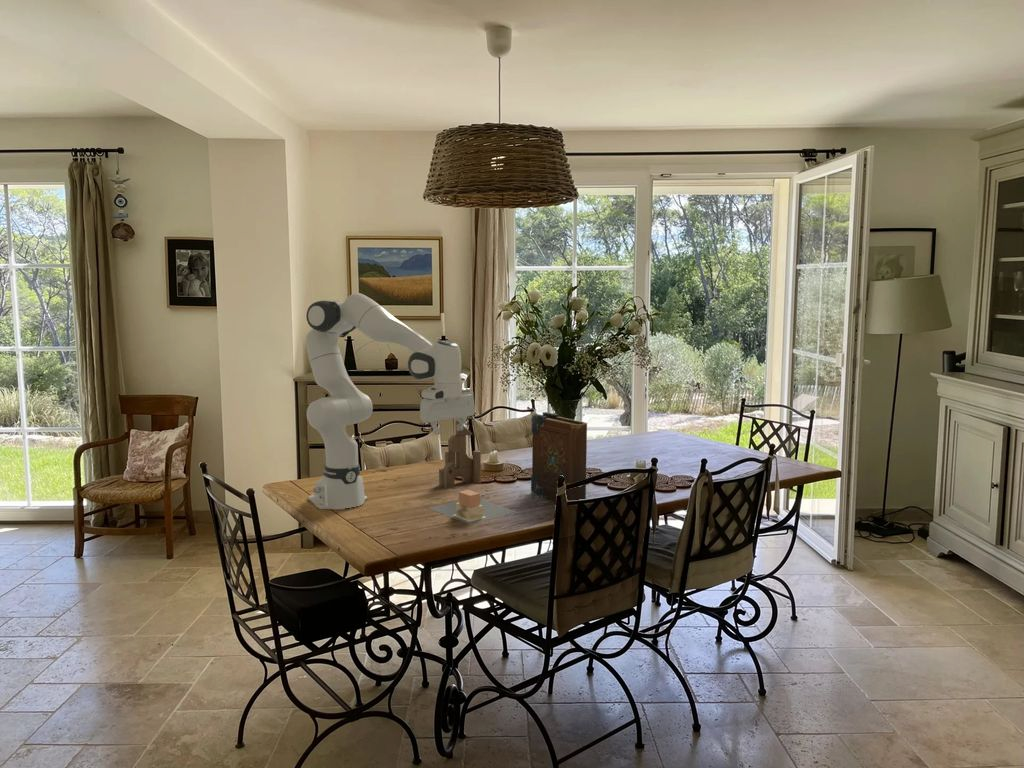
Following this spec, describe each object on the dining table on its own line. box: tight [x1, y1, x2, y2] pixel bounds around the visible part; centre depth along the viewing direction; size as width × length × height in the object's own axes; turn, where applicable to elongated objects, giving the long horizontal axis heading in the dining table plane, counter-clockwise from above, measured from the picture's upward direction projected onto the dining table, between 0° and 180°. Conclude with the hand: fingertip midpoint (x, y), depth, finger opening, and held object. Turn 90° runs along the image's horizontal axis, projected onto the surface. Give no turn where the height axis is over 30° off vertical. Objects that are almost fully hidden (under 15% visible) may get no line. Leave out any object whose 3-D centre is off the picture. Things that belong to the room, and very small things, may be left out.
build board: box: [428, 498, 517, 525], centre depth 254 cm, size 23×20×2 cm
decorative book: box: [530, 411, 588, 501], centre depth 270 cm, size 23×7×30 cm, turn 39°
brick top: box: [458, 489, 481, 508], centre depth 246 cm, size 6×4×4 cm, turn 42°
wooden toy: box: [438, 419, 482, 490], centre depth 289 cm, size 16×7×25 cm, turn 120°
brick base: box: [456, 503, 483, 521], centre depth 246 cm, size 8×5×4 cm, turn 42°
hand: (448, 432), depth 246 cm, fingers open, 8 cm apart
